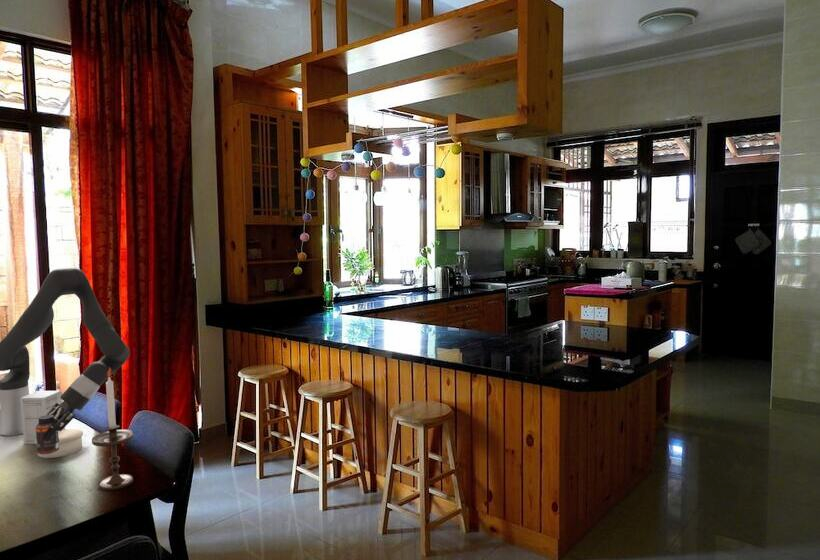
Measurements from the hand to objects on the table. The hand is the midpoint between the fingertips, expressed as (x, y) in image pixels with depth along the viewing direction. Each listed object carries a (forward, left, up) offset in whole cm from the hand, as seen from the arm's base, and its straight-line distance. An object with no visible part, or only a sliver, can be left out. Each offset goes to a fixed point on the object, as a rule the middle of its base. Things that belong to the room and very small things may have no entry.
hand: (41, 437), depth 180 cm
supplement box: (-14, +28, -11) cm, 33 cm away
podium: (-3, +16, -10) cm, 19 cm away
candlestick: (+27, -14, -11) cm, 33 cm away
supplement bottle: (+1, +1, -5) cm, 6 cm away
